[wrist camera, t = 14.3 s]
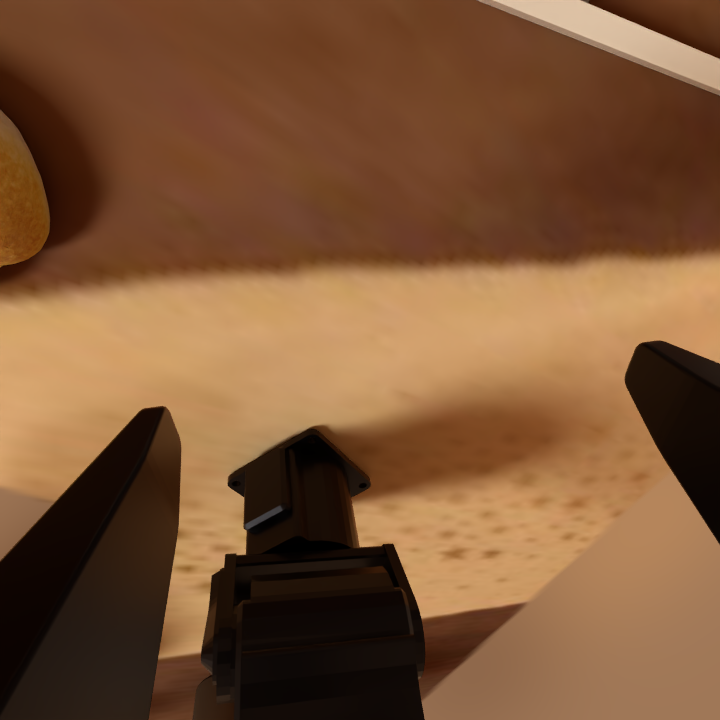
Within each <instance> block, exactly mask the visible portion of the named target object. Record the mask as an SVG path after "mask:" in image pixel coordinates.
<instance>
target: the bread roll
mask: <svg viewBox="0 0 720 720" xmlns="http://www.w3.org/2000/svg"><path fill="white" fill-rule="evenodd" d="M49 230H50V213H49V207H48V202H47V198H46V194H45V190H44V186H43V182H42V179H41V176H40V173H39V171H38V169H37V167H36V164H35V162H34V159H33V157H32V155H31V152H30V150H29V148H28V146H27V145H26V143H25V141H24V139H23V137H22V135H21V133H20V132H19V130H18V128H17V127H16V126H15V125H14V123H13V122H12V121H11V120H10V119H9V118H8V117H7V116H6V115H5V114H4V113H3V112H2V110H1V109H0V268H1V267H2V266H3V265H9V264H15V263H18V262H21V261H24V260H27V259H29V258H30V257H32V256H33V255H35V254H36V253H37V252H39V251H40V250H41V249H42V247H43V245H44V243H45V241H46V240H47V237H48V234H49Z"/></svg>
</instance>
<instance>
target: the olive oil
mask: <svg viewBox="0 0 720 720" xmlns="http://www.w3.org/2000/svg"><path fill="white" fill-rule="evenodd" d="M193 720H234V703H225V704H217V700H216V685H213V683H212V676H210V677H208V678H207V679H205V680H204V681H203V682H202V683H201V684H200V685H199V686H198V688H197V690H196V695H195V703H194V712H193Z"/></svg>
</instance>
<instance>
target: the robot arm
mask: <svg viewBox="0 0 720 720" xmlns="http://www.w3.org/2000/svg"><path fill="white" fill-rule="evenodd" d="M625 384H626V387H627V389H628V391H629V393H630V395H631V397H632V399H633V401H634V403H635V405H636V407H637V409H638V411H639V413H640V415H641V417H642V419H643V421H644V423H645V424H646V426H647V428H648V430H649V432H650V434H651V436H652V438H653V440H654V442H655V444H656V446H657V448H658V449H659V451H660V453H661V454H662V456H663V458H664V459H665V461H666V463H667V464H668V466H669V467H670V469H671V470H672V472H673V473H674V475H675V476H676V478H677V479H678V481H679V482H680V484H681V486H682V487H683V489H684V490H685V492H686V493H687V495H688V496H689V498H690V499H691V501H692V502H693V504H694V506H695V507H696V509H697V510H698V512H699V513H700V515H701V516H702V518H703V519H704V521H705V523H706V524H707V526H708V527H709V529H710V530H711V532H712V533H713V535H714V536H715V538H716V540H717V541H718V543H719V544H720V364H719V363H716V362H714V361H711V360H709V359H706V358H704V357H702V356H699V355H697V354H694V353H692V352H689V351H687V350H684V349H682V348H679V347H677V346H674V345H672V344H669V343H667V342H664V341H651V342H643V343H641V344H639V345H638V346H637V347H636V349H635V351H634V353H633V356H632V358H631V361H630V363H629V366H628V369H627V371H626V374H625ZM311 437H312V439H310V438H311ZM180 473H181V441H180V437H179V434H178V432H177V429H176V427H175V424H174V422H173V419H172V416H171V414H170V412H169V410H168V409H167V407H164V406H159V407H151V408H145V409H142V410H141V411H139V412H138V413H137V414H136V416H135V417H134V418H133V419H132V420H131V421H130V422H129V423H128V424H127V425H126V426H125V427H124V428H123V430H122V431H121V432H120V433H119V434H118V435H117V436H116V437H115V438H114V439H113V440H112V441H111V442H110V443H109V445H108V446H107V447H106V448H105V449H104V450H103V451H102V452H101V453H100V454H99V455H98V456H97V457H96V459H95V460H94V461H93V462H92V463H91V464H90V465H89V466H88V467H87V468H86V469H85V470H84V471H83V472H82V474H81V475H80V476H79V477H78V478H77V479H76V480H75V481H74V482H73V483H72V484H71V485H70V486H69V487H68V489H67V490H66V491H65V492H64V493H63V494H62V495H61V496H60V497H59V498H58V499H57V500H56V501H55V503H54V504H53V505H52V506H51V507H50V508H49V509H48V510H47V511H46V512H45V513H44V514H43V515H42V517H41V518H40V519H39V520H38V521H37V522H36V523H35V524H34V525H33V526H32V527H31V528H30V529H29V530H28V532H27V533H26V534H25V535H24V536H23V537H22V538H21V539H20V540H19V541H18V542H17V543H16V544H15V546H14V547H13V548H12V549H11V550H10V551H9V552H8V553H7V554H6V555H5V556H4V557H3V558H2V559H1V561H0V720H148V718H149V711H150V705H151V699H152V693H153V686H154V680H155V674H156V667H157V661H158V655H159V648H160V642H161V636H162V629H163V623H164V617H165V610H166V604H167V598H168V591H169V585H170V579H171V572H172V566H173V560H174V554H175V547H176V541H177V533H178V525H179V503H180ZM228 486H229V487H230V488H231V489H233V490H234V491H236V492H237V493H239V494H240V495H242V496H243V497H244V526H243V527H244V529H245V530H247V537H246V555H236V553H235V554H226V555H225V565H224V568H222V569H220V571H219V572H217V573H215V574H214V575H212V580H211V592H210V603H209V611H208V617H207V622H206V628H205V633H204V639H203V644H202V651H201V663H202V665H203V666H204V667H205V668H206V669H207V670H208V671H209V672H210V673H211V674H212V683H213V685H216V700H217V704H225V703H234V720H425V719H424V714H423V708H422V702H421V696H420V690H419V682H418V679H420V678H421V677H422V674H423V671H424V664H425V641H424V632H423V626H422V620H421V616H420V612H419V608H418V605H417V602H416V599H415V597H414V594H413V592H412V589H411V587H410V584H409V582H408V579H407V577H406V574H405V572H404V569H403V567H402V564H401V562H400V559H399V557H398V554H397V552H396V549H395V547H394V545H393V544H383V545H382V546H375V547H360V546H359V541H358V535H357V529H356V523H355V517H354V511H353V506H352V500H351V497H353V496H355V495H357V494H359V493H361V492H363V491H365V490H366V489H368V488H369V487H370V479H369V477H368V476H367V475H366V474H365V473H363V472H362V471H361V470H360V469H359V468H358V467H357V466H356V465H355V464H354V463H353V462H351V461H350V460H349V459H348V458H347V457H346V456H345V455H344V454H343V453H342V452H341V451H339V450H338V449H337V448H336V447H335V446H334V445H333V444H332V443H331V442H330V441H329V440H327V439H326V438H325V437H324V436H323V435H322V434H321V433H320V432H319V431H317V430H314V429H311V430H307V431H305V432H303V433H302V434H300V435H298V436H296V437H295V438H293V439H291V440H290V441H288V442H286V443H284V444H283V445H281V446H279V447H277V448H276V449H274V450H272V451H270V452H269V453H267V454H265V455H264V456H262V457H260V458H258V459H257V460H255V461H253V462H251V463H250V464H248V465H246V466H244V467H243V468H241V469H239V470H238V471H236V472H234V473H232V474H231V475H230V476H229V477H228Z"/></svg>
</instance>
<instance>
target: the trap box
mask: <svg viewBox="0 0 720 720" xmlns="http://www.w3.org/2000/svg"><path fill="white" fill-rule="evenodd" d="M477 1H480V2H483V3H485V4H488V5H490V6H493V7H495V8H498V9H500V10H503V11H505V12H508V13H511V14H513V15H516V16H518V17H521V18H523V19H526V20H528V21H531V22H533V23H536V24H538V25H541V26H544V27H546V28H549V29H551V30H554V31H556V32H559V33H561V34H564V35H566V36H569V37H572V38H574V39H577V40H579V41H582V42H584V43H587V44H589V45H592V46H594V47H597V48H600V49H602V50H605V51H607V52H610V53H612V54H615V55H617V56H620V57H622V58H625V59H628V60H630V61H633V62H635V63H638V64H640V65H643V66H645V67H648V68H650V69H653V70H656V71H658V72H661V73H663V74H666V75H668V76H671V77H673V78H676V79H678V80H681V81H684V82H686V83H689V84H691V85H694V86H696V87H699V88H701V89H704V90H706V91H709V92H712V93H714V94H717V95H719V96H720V59H718V58H716V57H714V56H711V55H709V54H707V53H704V52H702V51H699V50H697V49H695V48H692V47H690V46H688V45H685V44H683V43H680V42H678V41H676V40H673V39H671V38H669V37H666V36H664V35H662V34H659V33H657V32H654V31H652V30H650V29H647V28H645V27H643V26H640V25H638V24H636V23H633V22H631V21H628V20H626V19H624V18H621V17H619V16H617V15H614V14H612V13H610V12H607V11H605V10H602V9H600V8H598V7H595V6H593V5H591V4H588V2H589V0H477Z"/></svg>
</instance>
